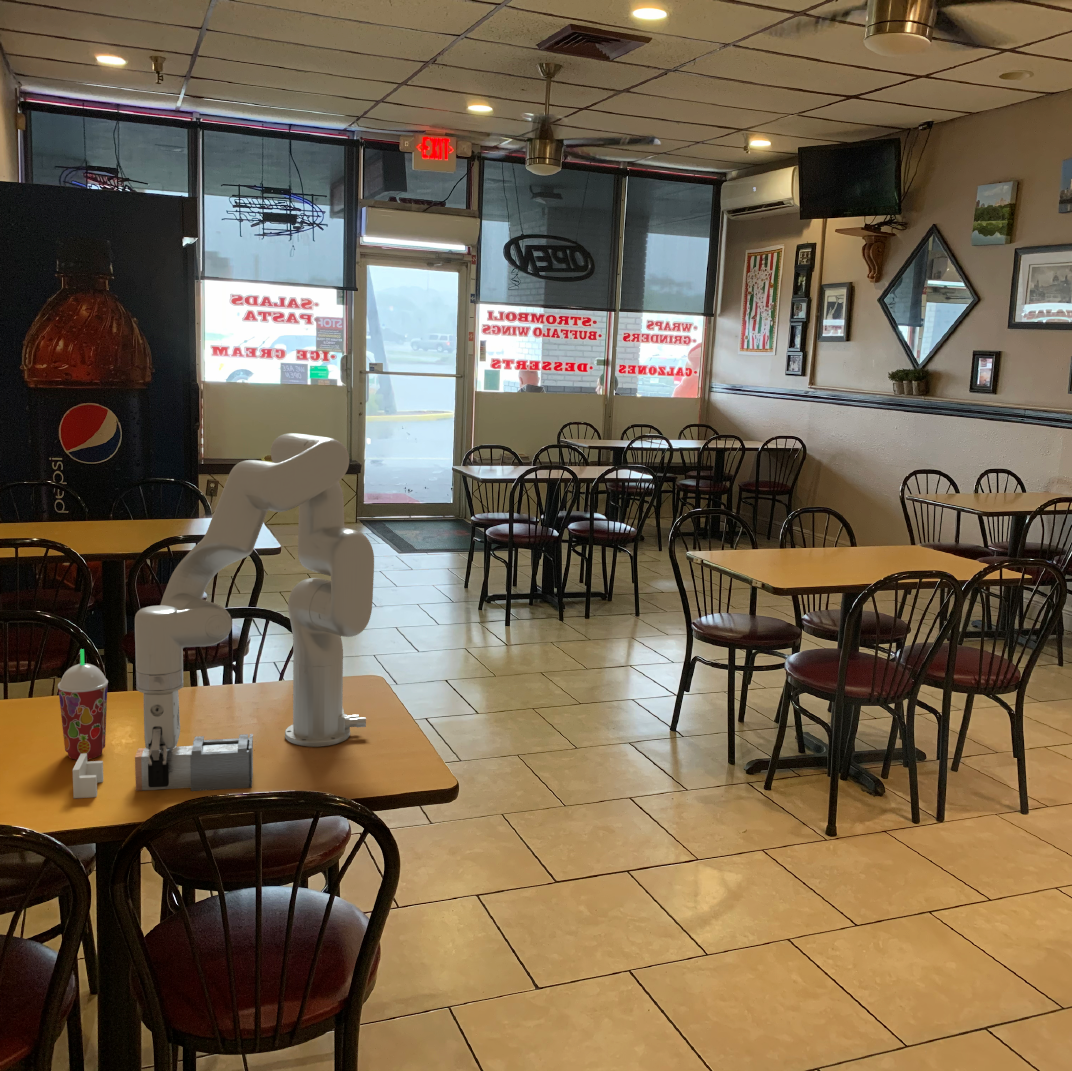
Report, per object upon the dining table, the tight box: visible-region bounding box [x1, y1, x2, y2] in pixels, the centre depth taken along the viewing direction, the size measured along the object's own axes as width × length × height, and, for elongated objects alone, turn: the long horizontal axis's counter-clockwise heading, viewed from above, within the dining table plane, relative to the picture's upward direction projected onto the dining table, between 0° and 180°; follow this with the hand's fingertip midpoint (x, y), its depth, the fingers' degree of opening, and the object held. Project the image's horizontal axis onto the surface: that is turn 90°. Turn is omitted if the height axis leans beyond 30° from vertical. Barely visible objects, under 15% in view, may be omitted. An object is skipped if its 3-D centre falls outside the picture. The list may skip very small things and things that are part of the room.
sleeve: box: [190, 733, 254, 792], centre depth 178 cm, size 10×7×7 cm
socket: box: [72, 753, 104, 799], centre depth 173 cm, size 4×7×5 cm, turn 14°
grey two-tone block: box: [134, 744, 238, 791], centre depth 177 cm, size 18×4×6 cm, turn 104°
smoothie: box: [57, 648, 109, 761], centre depth 186 cm, size 8×8×20 cm
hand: (161, 775), depth 176 cm, fingers open, 8 cm apart
